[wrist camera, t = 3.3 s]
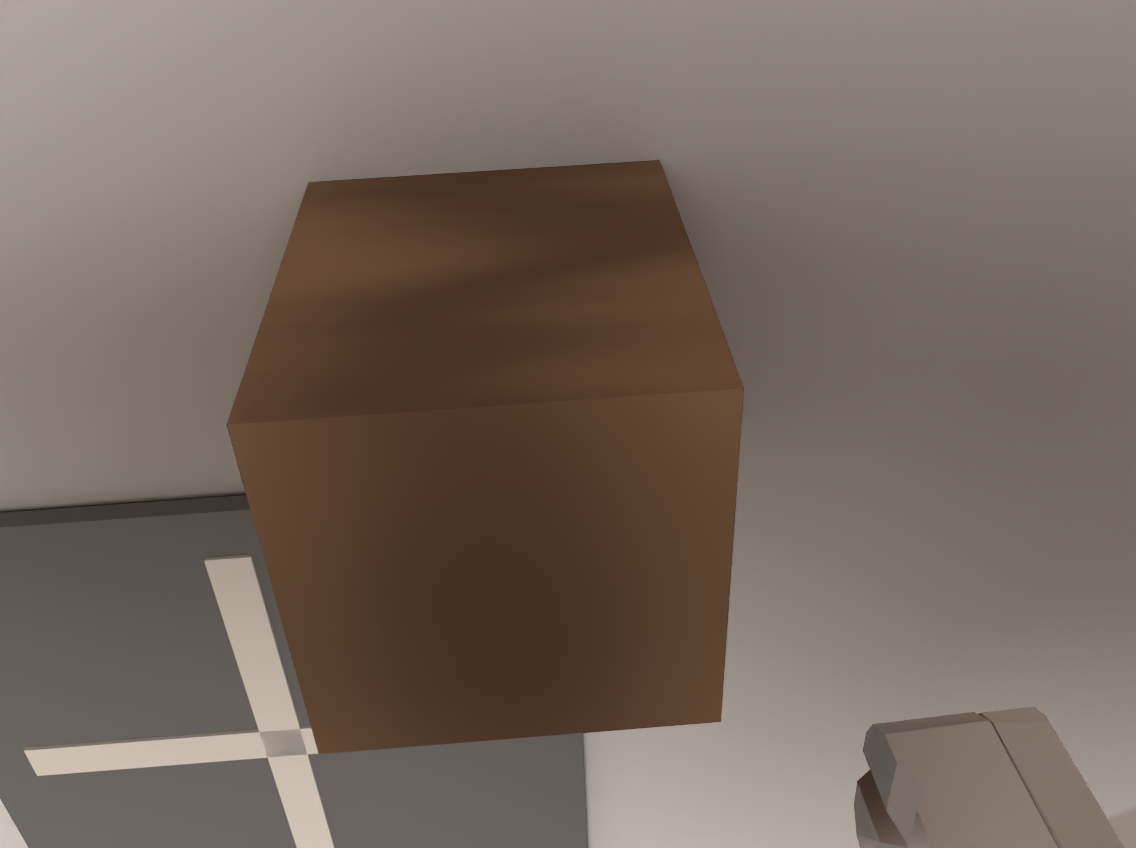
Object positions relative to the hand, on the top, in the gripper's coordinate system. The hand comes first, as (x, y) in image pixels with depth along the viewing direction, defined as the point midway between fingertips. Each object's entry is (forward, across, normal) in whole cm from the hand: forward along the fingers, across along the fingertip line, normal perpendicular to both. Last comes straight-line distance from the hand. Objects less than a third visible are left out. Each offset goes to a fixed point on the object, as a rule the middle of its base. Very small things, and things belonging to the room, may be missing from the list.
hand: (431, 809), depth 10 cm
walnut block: (+8, -1, 0) cm, 9 cm away
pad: (+9, +4, +9) cm, 13 cm away
